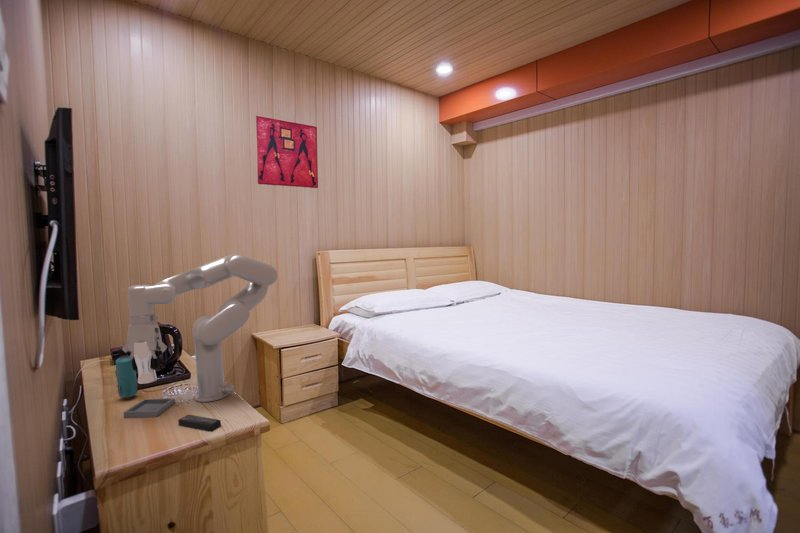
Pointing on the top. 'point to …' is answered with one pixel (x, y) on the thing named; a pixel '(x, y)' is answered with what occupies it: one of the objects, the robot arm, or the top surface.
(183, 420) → the multiport hub
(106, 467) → the top surface
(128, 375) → the beverage bottle
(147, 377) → the beer glass
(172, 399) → the tray
